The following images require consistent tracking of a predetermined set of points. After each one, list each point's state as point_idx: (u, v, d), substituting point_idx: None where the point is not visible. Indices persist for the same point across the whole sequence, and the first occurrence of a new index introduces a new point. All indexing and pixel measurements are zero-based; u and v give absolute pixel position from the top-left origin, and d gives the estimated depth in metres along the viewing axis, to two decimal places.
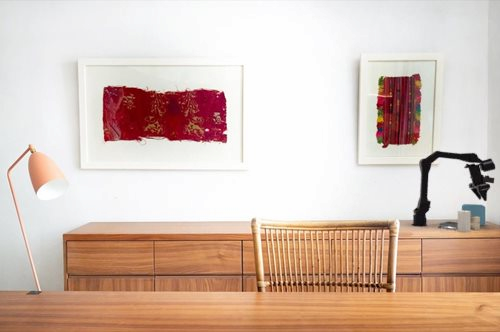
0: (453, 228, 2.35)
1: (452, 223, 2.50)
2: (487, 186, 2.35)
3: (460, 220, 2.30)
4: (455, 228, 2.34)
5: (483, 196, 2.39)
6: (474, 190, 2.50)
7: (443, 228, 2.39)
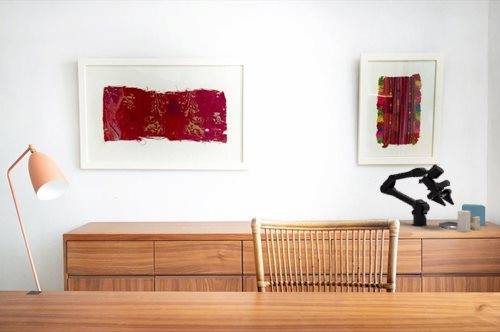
0: (456, 228, 2.37)
1: (452, 223, 2.50)
2: (432, 192, 2.35)
3: (460, 220, 2.30)
4: None
5: (440, 202, 2.36)
6: (444, 198, 2.45)
7: (447, 226, 2.41)
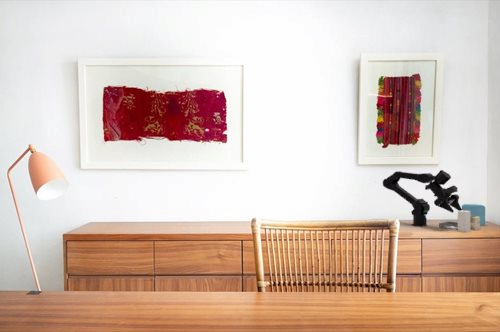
0: None
1: (452, 223, 2.50)
2: (440, 199, 2.32)
3: (460, 220, 2.30)
4: None
5: (447, 209, 2.32)
6: (452, 204, 2.41)
7: None
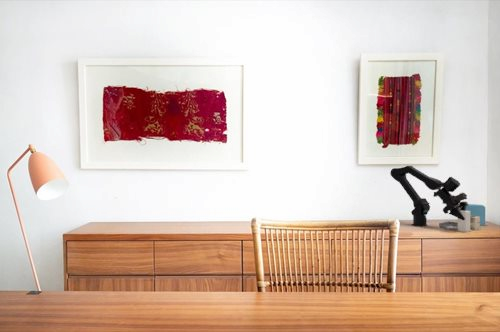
0: None
1: (452, 223, 2.50)
2: (449, 206, 2.28)
3: (460, 220, 2.30)
4: None
5: (458, 216, 2.30)
6: None
7: None
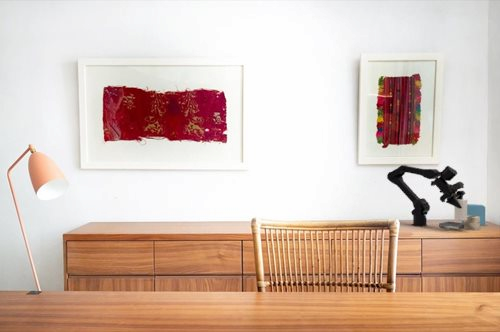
0: None
1: (452, 223, 2.50)
2: (446, 195, 2.29)
3: (457, 208, 2.31)
4: None
5: (455, 205, 2.31)
6: None
7: None
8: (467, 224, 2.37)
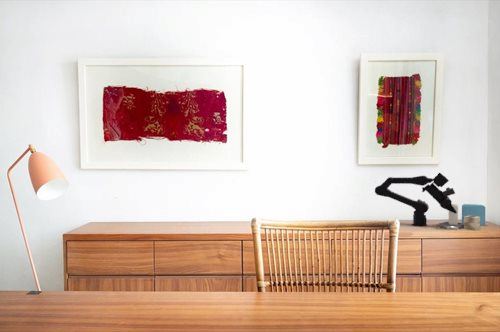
0: None
1: None
2: (447, 201, 2.37)
3: (451, 213, 2.42)
4: None
5: (451, 210, 2.41)
6: None
7: None
8: (467, 224, 2.37)
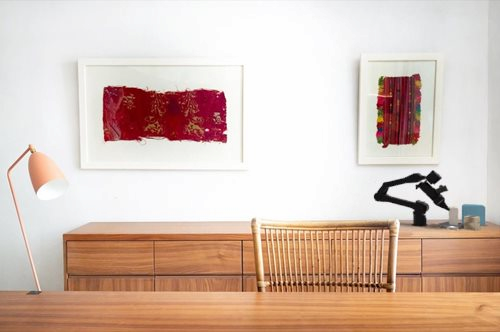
0: None
1: None
2: (440, 198, 2.38)
3: (452, 216, 2.42)
4: None
5: (444, 207, 2.41)
6: None
7: None
8: (467, 224, 2.37)
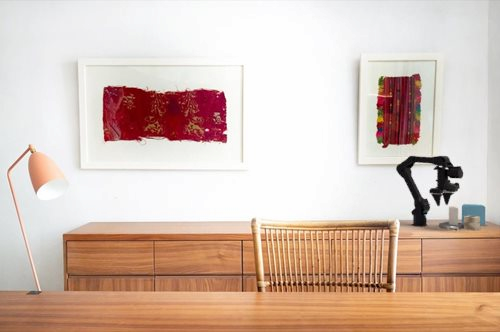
0: None
1: None
2: (436, 191, 2.33)
3: (452, 216, 2.42)
4: None
5: (436, 200, 2.37)
6: (444, 194, 2.45)
7: (446, 227, 2.41)
8: (467, 224, 2.37)
